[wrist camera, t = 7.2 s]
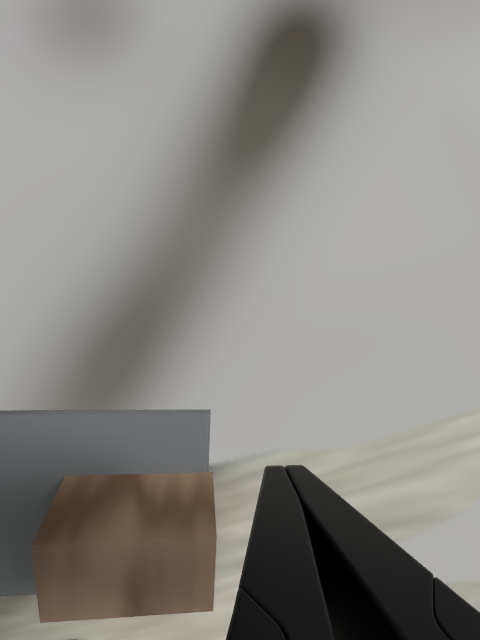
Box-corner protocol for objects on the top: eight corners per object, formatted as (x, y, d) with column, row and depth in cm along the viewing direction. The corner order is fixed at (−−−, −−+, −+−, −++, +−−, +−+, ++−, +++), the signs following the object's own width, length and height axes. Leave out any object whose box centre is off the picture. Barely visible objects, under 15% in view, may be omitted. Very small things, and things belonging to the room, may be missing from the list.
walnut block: (64, 475, 21) (212, 472, 22) (70, 542, 22) (209, 535, 23) (30, 545, 17) (216, 537, 18) (40, 622, 18) (212, 610, 19)
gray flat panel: (210, 409, 21) (210, 413, 21) (203, 578, 24) (203, 584, 24) (-67, 411, 20) (-73, 415, 19) (-34, 591, 23) (-37, 598, 22)
